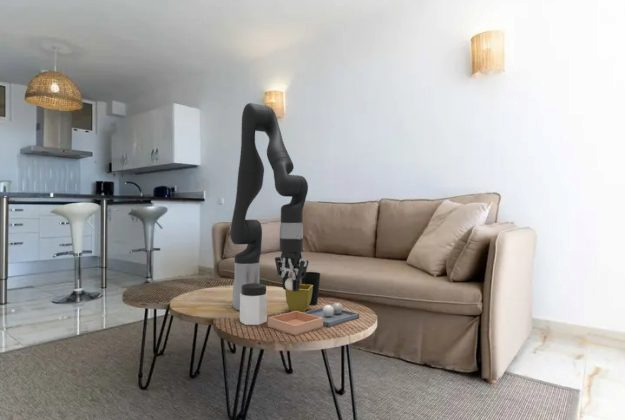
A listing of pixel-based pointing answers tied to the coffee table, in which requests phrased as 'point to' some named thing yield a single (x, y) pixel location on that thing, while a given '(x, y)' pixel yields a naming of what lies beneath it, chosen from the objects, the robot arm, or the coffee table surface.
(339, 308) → the pebble
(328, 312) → the pebble
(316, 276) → the cup
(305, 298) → the flower pot
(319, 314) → the tray
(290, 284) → the white ball
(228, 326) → the coffee table surface
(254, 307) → the jar
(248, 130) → the robot arm
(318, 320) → the dish
